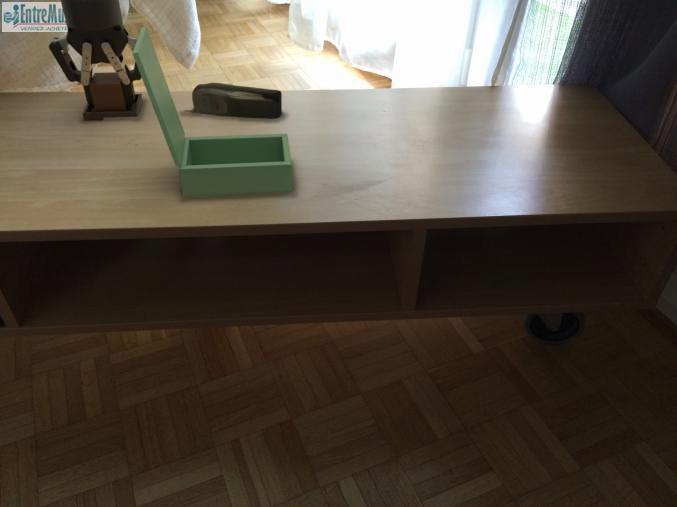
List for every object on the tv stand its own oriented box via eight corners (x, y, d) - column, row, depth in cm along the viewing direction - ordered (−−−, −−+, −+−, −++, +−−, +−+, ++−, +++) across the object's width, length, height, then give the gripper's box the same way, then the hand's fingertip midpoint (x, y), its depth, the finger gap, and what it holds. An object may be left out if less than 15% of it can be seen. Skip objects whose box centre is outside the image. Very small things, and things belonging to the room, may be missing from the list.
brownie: (95, 112, 92) (88, 84, 90) (100, 99, 96) (94, 72, 93) (125, 111, 93) (119, 83, 90) (129, 98, 96) (124, 71, 93)
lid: (146, 26, 71) (141, 27, 71) (137, 52, 64) (132, 53, 64) (185, 134, 80) (180, 135, 80) (180, 165, 73) (176, 166, 73)
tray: (85, 123, 92) (82, 113, 91) (92, 104, 97) (90, 95, 96) (138, 121, 93) (136, 111, 92) (143, 102, 98) (141, 93, 97)
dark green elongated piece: (282, 86, 93) (184, 78, 93) (279, 94, 91) (179, 86, 91) (282, 116, 96) (188, 109, 96) (280, 125, 94) (183, 117, 94)
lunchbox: (288, 164, 84) (287, 133, 81) (292, 196, 78) (291, 164, 75) (188, 168, 83) (183, 137, 80) (184, 202, 77) (178, 168, 74)
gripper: (144, -19, 87) (162, 94, 98) (39, -19, 86) (69, 96, 96) (137, -3, 81) (157, 115, 92) (25, -3, 80) (58, 118, 90)
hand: (112, 105), depth 94 cm, fingers closed on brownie, 4 cm apart
